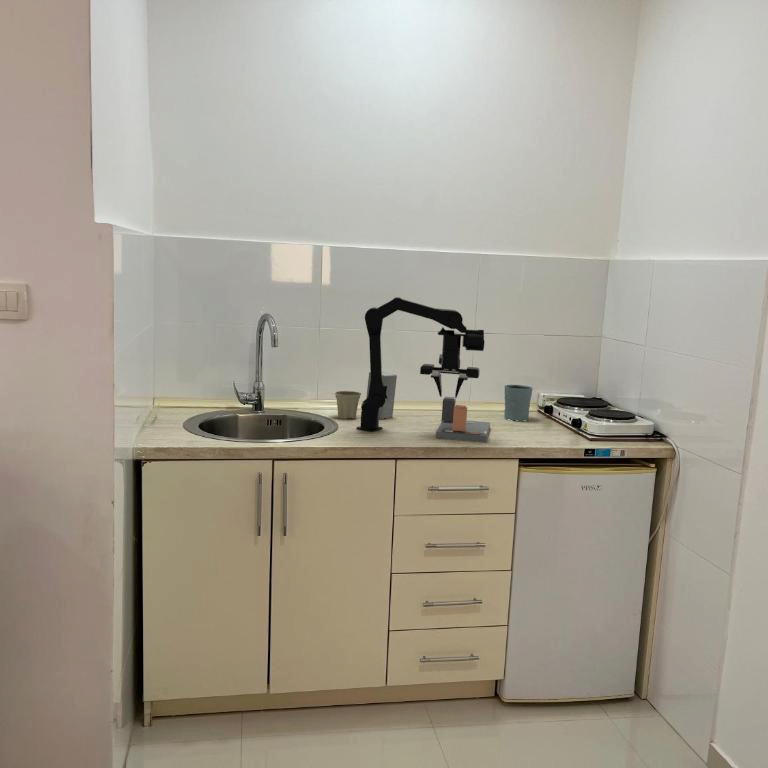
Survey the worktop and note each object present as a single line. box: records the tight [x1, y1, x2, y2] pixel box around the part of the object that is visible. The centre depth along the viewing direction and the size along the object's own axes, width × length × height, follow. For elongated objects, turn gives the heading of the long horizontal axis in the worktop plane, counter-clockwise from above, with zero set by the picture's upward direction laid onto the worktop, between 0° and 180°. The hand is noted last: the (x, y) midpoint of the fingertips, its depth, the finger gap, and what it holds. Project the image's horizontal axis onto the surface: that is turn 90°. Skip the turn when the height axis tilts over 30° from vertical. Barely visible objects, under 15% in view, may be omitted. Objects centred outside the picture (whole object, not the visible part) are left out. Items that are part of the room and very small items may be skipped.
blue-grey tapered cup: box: [503, 384, 533, 422], centre depth 279 cm, size 10×10×12 cm
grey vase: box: [365, 371, 398, 420], centre depth 270 cm, size 8×7×16 cm
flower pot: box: [334, 390, 362, 420], centre depth 267 cm, size 9×9×9 cm
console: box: [435, 419, 491, 443], centre depth 252 cm, size 16×22×2 cm
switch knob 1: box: [441, 396, 457, 421], centre depth 259 cm, size 4×4×8 cm
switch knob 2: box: [452, 404, 468, 431], centre depth 245 cm, size 4×4×8 cm
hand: (448, 397), depth 248 cm, fingers open, 5 cm apart
